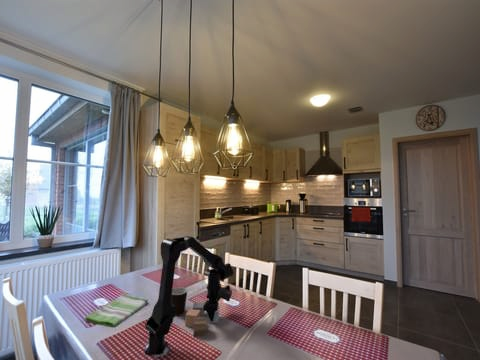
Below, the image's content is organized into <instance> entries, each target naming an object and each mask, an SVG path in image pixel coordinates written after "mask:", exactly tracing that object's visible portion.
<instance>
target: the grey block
mask: <svg viewBox="0 0 480 360" xmlns="http://www.w3.org/2000/svg"><path fill="white" fill-rule="evenodd" d="M205 302H206V301H205ZM205 302H201V301H200V302H194V303H193V306H192V309H193V310H200V317H205V316H204V315H205V311H203V305H204V303H205Z"/></svg>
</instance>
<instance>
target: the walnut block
mask: <svg viewBox="0 0 480 360" xmlns="http://www.w3.org/2000/svg"><path fill="white" fill-rule="evenodd" d="M192 335H193V337H206V336H207V316H204V317H195V318H194V327H193V334H192Z"/></svg>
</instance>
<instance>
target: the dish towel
mask: <svg viewBox="0 0 480 360" xmlns="http://www.w3.org/2000/svg"><path fill="white" fill-rule="evenodd" d="M148 302H149V301H148V299H147V298H145V297H139V296H133V295H128V294H126V293H122V294H121V295H119V296H118V297H116V299H114V300H112V301H110V302H108V303H106V304H105V305H104V306H102V307H100V308H98V309H96V310H95V311H93V312H91V313H90V314H88V315H86V316H85V319H84V321H85V322H88V321H89V322H88V323H93V324H97V325H103V326H107V327H113V328H114V327H116V326H117V325H120V324H121V323H122V322H123V321H125V320H127V319H128V318H130V317H131V316H133V314H135V313H137V312H138V311H140V310H142V308H143V307H145V305H147V304H148Z"/></svg>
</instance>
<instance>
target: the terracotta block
mask: <svg viewBox="0 0 480 360" xmlns="http://www.w3.org/2000/svg"><path fill="white" fill-rule="evenodd" d="M195 317H200V310H193V308H192V309H191V308H190V309H189V310H187V312H186V314H185V322H184V323H185V325H184V326H185V327H187V328H194V318H195Z"/></svg>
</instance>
